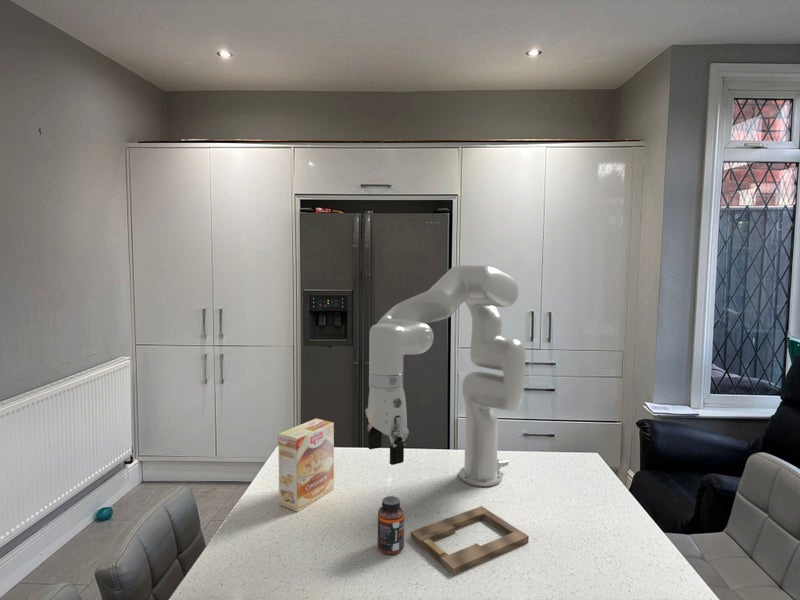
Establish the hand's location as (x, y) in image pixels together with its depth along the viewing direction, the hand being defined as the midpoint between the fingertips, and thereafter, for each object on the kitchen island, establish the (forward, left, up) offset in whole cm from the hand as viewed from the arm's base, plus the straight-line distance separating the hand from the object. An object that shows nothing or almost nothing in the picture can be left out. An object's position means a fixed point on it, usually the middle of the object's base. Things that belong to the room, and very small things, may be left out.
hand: (385, 455), depth 110 cm
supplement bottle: (-1, +1, -22) cm, 22 cm away
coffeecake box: (+6, -31, -22) cm, 38 cm away
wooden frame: (-18, +8, -21) cm, 29 cm away
